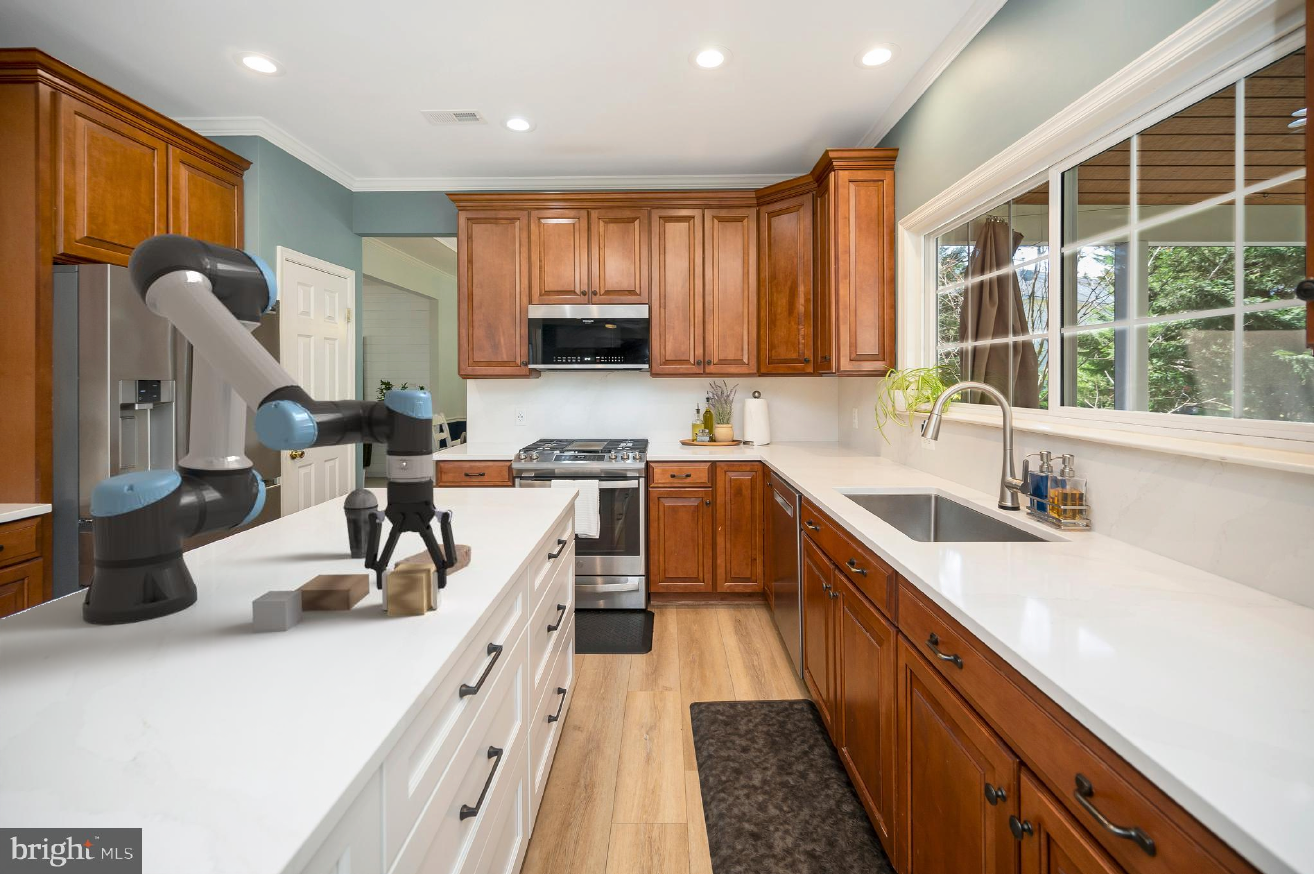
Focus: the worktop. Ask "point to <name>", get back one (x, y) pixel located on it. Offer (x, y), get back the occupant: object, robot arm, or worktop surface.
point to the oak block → (410, 589)
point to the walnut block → (334, 592)
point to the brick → (461, 552)
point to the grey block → (277, 611)
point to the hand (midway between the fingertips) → (412, 606)
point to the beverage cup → (359, 518)
